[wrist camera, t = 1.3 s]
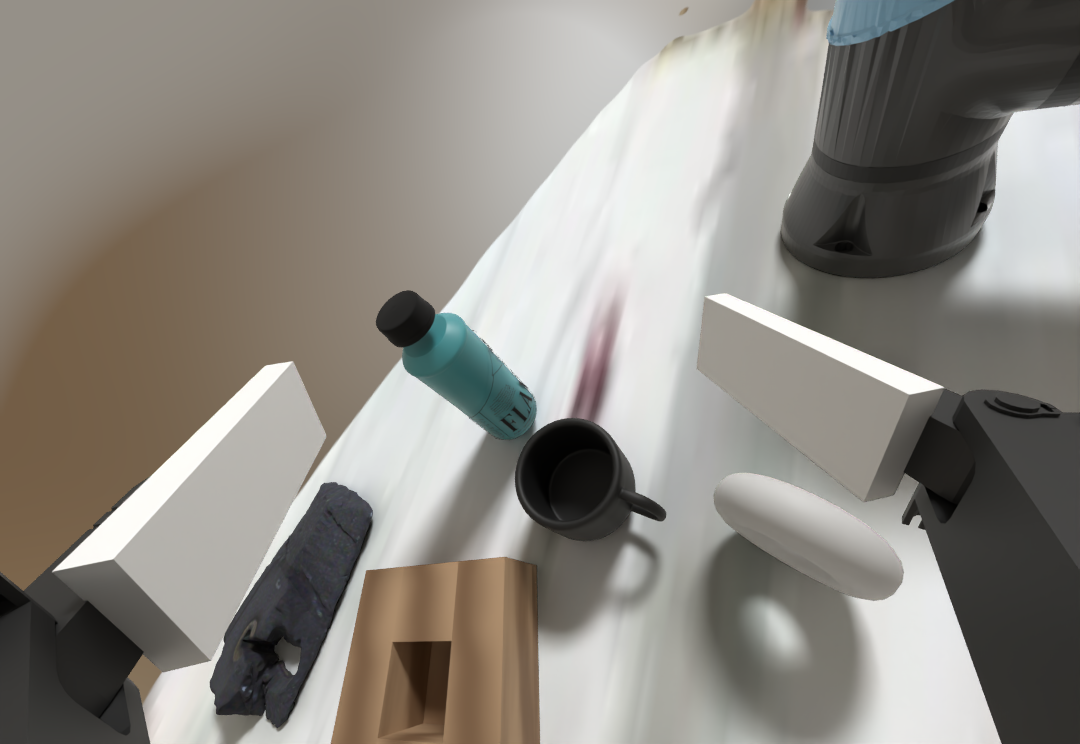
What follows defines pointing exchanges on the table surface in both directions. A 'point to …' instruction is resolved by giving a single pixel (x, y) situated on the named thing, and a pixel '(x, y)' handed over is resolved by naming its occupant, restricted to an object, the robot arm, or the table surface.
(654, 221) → the table surface
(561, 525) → the mug
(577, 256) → the table surface
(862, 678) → the table surface
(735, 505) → the donut
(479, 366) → the beverage bottle
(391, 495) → the table surface
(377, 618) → the block
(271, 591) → the dark slate chunk
